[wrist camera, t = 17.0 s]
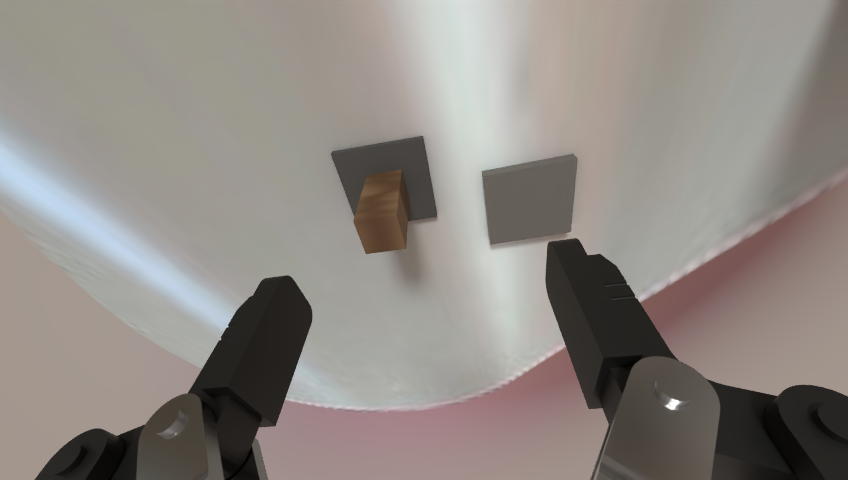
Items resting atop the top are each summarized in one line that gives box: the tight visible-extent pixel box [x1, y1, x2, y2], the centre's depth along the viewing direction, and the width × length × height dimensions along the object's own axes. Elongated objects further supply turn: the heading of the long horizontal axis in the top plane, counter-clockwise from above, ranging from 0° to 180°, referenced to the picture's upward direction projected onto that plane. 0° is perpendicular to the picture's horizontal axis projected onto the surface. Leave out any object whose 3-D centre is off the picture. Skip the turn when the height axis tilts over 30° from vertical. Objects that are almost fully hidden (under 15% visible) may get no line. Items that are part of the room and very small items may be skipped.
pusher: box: [353, 169, 409, 254], centre depth 30 cm, size 4×4×8 cm
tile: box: [482, 154, 577, 244], centre depth 35 cm, size 9×2×9 cm
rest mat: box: [331, 136, 437, 221], centre depth 33 cm, size 9×9×1 cm
